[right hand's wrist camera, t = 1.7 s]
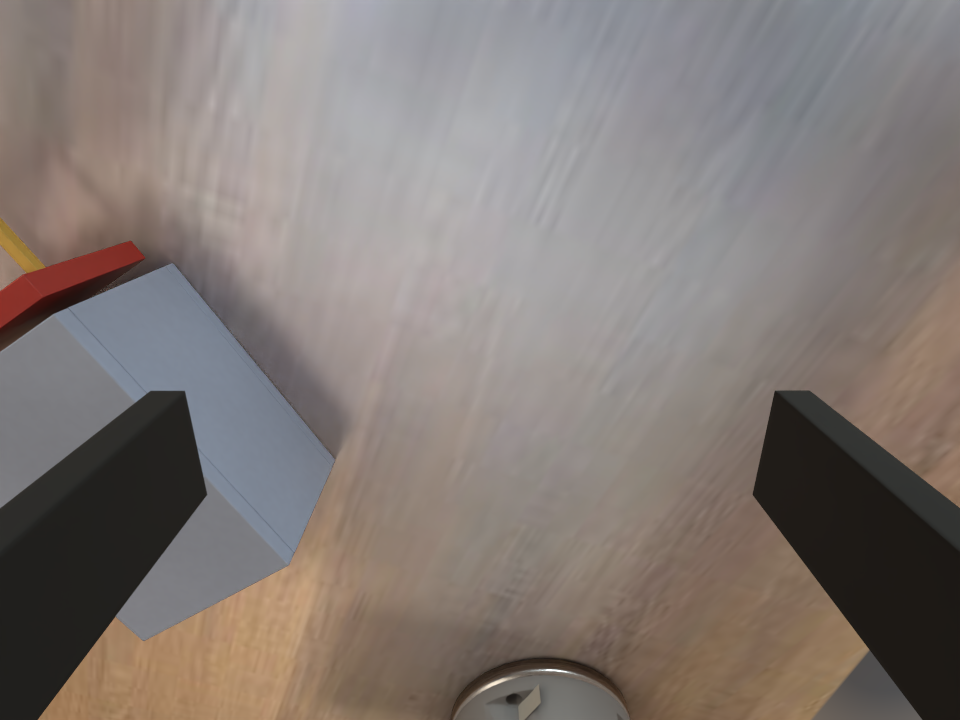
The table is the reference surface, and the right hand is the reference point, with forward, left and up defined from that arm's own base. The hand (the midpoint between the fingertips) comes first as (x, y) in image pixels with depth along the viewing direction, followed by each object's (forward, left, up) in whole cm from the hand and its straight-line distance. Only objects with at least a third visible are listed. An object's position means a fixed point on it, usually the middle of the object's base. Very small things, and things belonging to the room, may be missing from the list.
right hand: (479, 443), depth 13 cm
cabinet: (-17, +13, -22) cm, 31 cm away
